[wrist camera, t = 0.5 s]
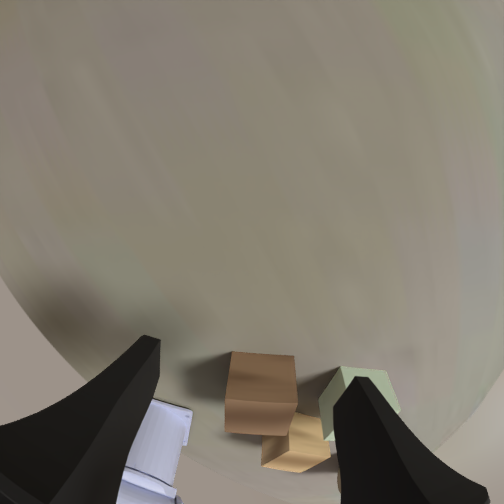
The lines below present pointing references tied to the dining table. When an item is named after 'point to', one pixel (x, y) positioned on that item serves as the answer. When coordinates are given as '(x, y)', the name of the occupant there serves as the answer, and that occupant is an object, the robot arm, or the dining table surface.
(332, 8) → the dining table surface
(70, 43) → the dining table surface
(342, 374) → the sage block
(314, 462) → the oak block
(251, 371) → the walnut block
